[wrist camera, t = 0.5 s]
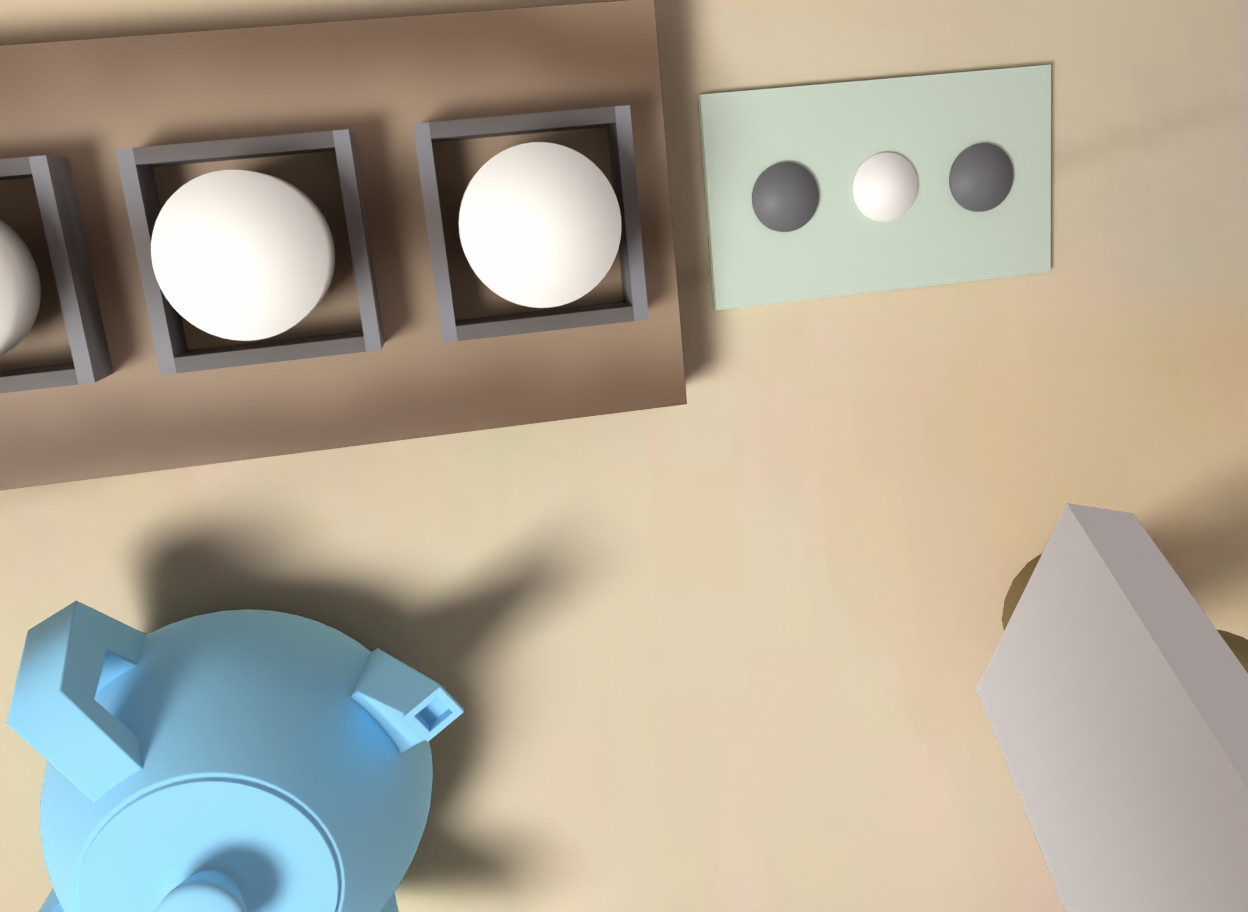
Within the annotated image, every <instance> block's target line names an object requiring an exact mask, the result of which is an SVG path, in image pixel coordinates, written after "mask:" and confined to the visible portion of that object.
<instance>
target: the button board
mask: <svg viewBox="0 0 1248 912" xmlns="http://www.w3.org/2000/svg"><path fill="white" fill-rule="evenodd" d="M531 142H547V143H554V144H558V145H562V146H565V147H568V148H570V149H573V150H575V151H577V152H579V153H580V154H582V155H584V156H585V157H586V158H588V159H589V160H590V161H592V162H593V163H594V164H595V165H596V166H597V167H598V168H599V169H600V170H601V171H602V173H603V174H604V175H605V177H606V178H607V179H608V181H609V183H610V185H611V186H612V188H613V190H614V193H615V195H616V197H617V201H618V204H619V208H620V214H621V239H620V244H619V248H618V252H617V254H616V257H615V260H614V262H613V264H612V266H611V268H610V270H609V271H608V272H607V274H606V275H605V277H604V278H603V279H602V280H601V281H600V283H599V284H598V285H597V286H596V287H594V288H593V289H592V290H591V291H590V292H589V293H587V294H585V295H584V296H582V297H581V298H579V299H577V300H575V301H573V302H570V303H567V304H564V305H561V306H556V307H550V308H535V307H527V306H523V305H519V304H516V303H513V302H510V301H508V300H506V299H504V298H502V297H501V296H499V295H498V294H496V293H495V292H493V291H492V290H491V289H489V288H488V287H487V286H486V285H485V284H484V283H483V282H482V281H481V280H480V278H479V277H478V276H477V275H476V273H475V272H474V270H473V269H472V267H471V266H470V264H469V262H468V260H467V258H466V255H465V253H464V251H463V248H462V245H461V241H460V236H459V227H458V219H459V209H460V204H461V201H462V198H463V195H464V192H465V190H466V188H467V186H468V184H469V182H470V181H471V179H472V178H473V176H474V175H475V174H476V173H477V172H478V171H479V169H480V168H481V167H482V166H483V165H484V164H485V163H486V162H488V161H489V160H490V159H491V158H492V157H494V156H495V155H497V154H499V153H500V152H502V151H504V150H506V149H508V148H510V147H513V146H517V145H520V144H525V143H531ZM221 170H246V171H252V172H257V173H262V174H267V175H271V176H274V177H277V178H280V179H282V180H285V181H286V182H288V183H290V184H292V185H294V186H295V187H297V188H298V189H300V190H301V191H302V192H304V193H305V194H306V195H307V196H308V197H309V198H310V199H311V200H312V201H313V202H314V203H315V204H316V205H317V207H318V208H319V210H320V211H321V212H322V214H323V215H324V217H325V219H326V221H327V223H328V225H329V228H330V231H331V233H332V237H333V241H334V246H335V268H334V274H333V278H332V281H331V284H330V286H329V288H328V290H327V293H326V295H325V296H324V298H323V299H322V300H321V302H320V303H319V304H318V306H317V307H316V308H315V309H314V310H313V311H312V312H311V313H309V314H308V315H307V316H306V317H305V318H303V319H302V320H301V321H300V322H298V323H297V324H296V325H294V326H293V327H291V328H290V329H288V330H286V331H284V332H282V333H280V334H278V335H275V336H272V337H269V338H265V339H260V340H251V341H240V340H230V339H226V338H221V337H218V336H215V335H212V334H209V333H207V332H205V331H203V330H201V329H199V328H197V327H196V326H194V325H193V324H191V323H190V322H188V321H187V320H186V319H185V318H184V317H182V316H181V315H180V314H179V313H178V312H177V311H176V310H175V309H174V308H173V307H172V305H171V304H170V303H169V301H168V300H167V299H166V297H165V295H164V294H163V292H162V290H161V288H160V286H159V284H158V282H157V279H156V277H155V273H154V269H153V266H152V258H151V240H152V233H153V229H154V226H155V222H156V220H157V218H158V215H159V213H160V211H161V209H162V208H163V206H164V205H165V203H166V202H167V200H168V199H169V198H170V197H171V196H172V195H173V194H174V193H175V192H176V191H177V190H178V189H179V188H180V187H182V186H183V185H184V184H186V183H188V182H189V181H191V180H192V179H195V178H197V177H199V176H201V175H204V174H207V173H211V172H214V171H221ZM0 219H1V220H3V221H4V222H5V223H6V224H8V225H9V226H10V227H11V228H12V229H13V230H14V231H15V232H16V233H17V234H18V235H19V236H20V237H21V239H22V240H23V241H24V243H25V244H26V245H27V247H28V249H29V250H30V252H31V254H32V256H33V258H34V261H35V263H36V265H37V269H38V272H39V276H40V283H41V300H40V307H39V311H38V314H37V317H36V319H35V322H34V324H33V326H32V327H31V329H30V331H29V332H28V334H27V335H26V336H25V337H24V338H23V340H22V341H21V342H20V343H19V344H17V345H16V346H15V347H14V348H13V349H11V350H10V351H8V352H6V353H5V354H3V355H1V356H0V490H8V489H16V488H24V487H32V486H40V485H47V484H55V483H63V482H71V481H79V480H87V479H95V478H103V477H111V476H119V475H127V474H135V473H143V472H151V471H159V470H167V469H175V468H183V467H190V466H198V465H206V464H214V463H222V462H230V461H238V460H246V459H254V458H262V457H270V456H278V455H286V454H294V453H302V452H310V451H318V450H326V449H334V448H341V447H349V446H357V445H365V444H373V443H381V442H389V441H397V440H405V439H413V438H421V437H429V436H437V435H445V434H453V433H461V432H469V431H477V430H484V429H492V428H500V427H508V426H516V425H524V424H532V423H540V422H548V421H556V420H564V419H572V418H580V417H588V416H596V415H604V414H612V413H620V412H628V411H635V410H643V409H651V408H659V407H667V406H675V405H683V404H687V399H686V387H685V375H684V362H683V350H682V338H681V326H680V313H679V301H678V289H677V276H676V264H675V252H674V240H673V227H672V215H671V203H670V190H669V178H668V166H667V154H666V141H665V129H664V117H663V104H662V92H661V80H660V67H659V55H658V43H657V31H656V18H655V6H654V0H626V1H612V2H598V3H584V4H570V5H556V6H542V7H529V8H515V9H501V10H487V11H473V12H459V13H445V14H432V15H418V16H404V17H390V18H376V19H362V20H348V21H335V22H321V23H307V24H293V25H279V26H265V27H251V28H238V29H224V30H210V31H196V32H182V33H168V34H154V35H141V36H127V37H113V38H99V39H85V40H71V41H57V42H44V43H30V44H16V45H2V46H0Z"/></svg>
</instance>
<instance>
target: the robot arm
mask: <svg viewBox="0 0 1248 912" xmlns="http://www.w3.org/2000/svg"><path fill="white" fill-rule="evenodd" d="M976 690H977V692H978V695H979V697H980V700H981V702H982V705H983V707H984V710H985V712H986V715H987V717H988V720H989V722H990V725H991V727H992V730H993V732H994V735H995V737H996V740H997V742H998V745H999V747H1000V750H1001V752H1002V755H1003V757H1004V760H1005V762H1006V765H1007V767H1008V770H1009V772H1010V775H1011V777H1012V780H1013V782H1014V785H1015V787H1016V790H1017V792H1018V795H1019V797H1020V800H1021V802H1022V804H1023V807H1024V809H1025V812H1026V814H1027V817H1028V819H1029V822H1030V824H1031V827H1032V829H1033V832H1034V834H1035V837H1036V839H1037V842H1038V844H1039V847H1040V849H1041V852H1042V854H1043V857H1044V859H1045V862H1046V864H1047V867H1048V869H1049V872H1050V874H1051V877H1052V879H1053V882H1054V884H1055V887H1056V889H1057V892H1058V894H1059V897H1060V899H1061V902H1062V904H1063V907H1064V909H1065V912H1248V673H1247V672H1246V670H1245V669H1244V667H1243V666H1242V665H1241V663H1240V662H1239V660H1238V659H1237V658H1236V656H1235V655H1234V653H1233V652H1232V651H1231V649H1230V648H1229V646H1228V645H1227V644H1226V642H1225V641H1224V639H1223V638H1222V637H1221V635H1220V634H1219V632H1218V631H1217V630H1216V628H1215V627H1214V625H1213V624H1212V623H1211V621H1210V620H1209V618H1208V617H1207V616H1206V614H1205V613H1204V611H1203V610H1202V609H1201V607H1200V606H1199V604H1198V603H1197V602H1196V600H1195V599H1194V597H1193V596H1192V595H1191V593H1190V592H1189V590H1188V589H1187V588H1186V586H1185V585H1184V583H1183V582H1182V581H1181V579H1180V578H1179V576H1178V575H1177V574H1176V572H1175V571H1174V569H1173V568H1172V567H1171V565H1170V564H1169V562H1168V561H1167V560H1166V558H1165V557H1164V555H1163V554H1162V553H1161V551H1160V550H1159V548H1158V547H1157V546H1156V544H1155V543H1154V541H1153V540H1152V539H1151V537H1150V536H1149V534H1148V533H1147V532H1146V530H1145V529H1144V528H1143V526H1142V525H1141V523H1140V522H1139V521H1138V519H1137V518H1136V516H1135V515H1134V514H1132V513H1126V512H1120V511H1113V510H1107V509H1100V508H1094V507H1087V506H1081V505H1074V504H1068V503H1067V504H1066V506H1065V508H1064V510H1063V512H1062V514H1061V516H1060V518H1059V520H1058V523H1057V525H1056V527H1055V529H1054V531H1053V533H1052V535H1051V537H1050V539H1049V541H1048V543H1047V545H1046V547H1045V549H1044V551H1043V553H1042V555H1041V557H1040V559H1039V561H1038V563H1037V565H1036V567H1035V569H1034V571H1033V574H1032V576H1031V578H1030V580H1029V582H1028V584H1027V586H1026V588H1025V590H1024V592H1023V594H1022V596H1021V598H1020V600H1019V602H1018V604H1017V606H1016V608H1015V610H1014V612H1013V614H1012V616H1011V618H1010V620H1009V622H1008V624H1007V627H1006V629H1005V631H1004V633H1003V635H1002V637H1001V639H1000V641H999V643H998V645H997V647H996V649H995V651H994V653H993V655H992V657H991V659H990V661H989V663H988V665H987V667H986V669H985V671H984V673H983V675H982V677H981V680H980V682H979V684H978V686H977V688H976Z"/></svg>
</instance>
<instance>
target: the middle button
mask: <svg viewBox="0 0 1248 912" xmlns="http://www.w3.org/2000/svg"><path fill="white" fill-rule="evenodd" d="M151 258H152V266H153V269H154V273H155V277H156V279H157V282H158V284H159V286H160V288H161V290H162V292H163V294H164V295H165V297H166V299H167V300H168V301H169V303H170V304H171V305H172V307H173V308H174V309H175V310H176V311H177V312H178V313H179V314H180V315H181V316H182V317H184V318H185V319H186V320H187V321H188V322H190V323H191V324H193V325H194V326H196V327H197V328H199V329H201V330H203V331H205V332H207V333H209V334H212V335H215V336H218V337H221V338H226V339H230V340H240V341H251V340H260V339H265V338H269V337H272V336H275V335H278V334H280V333H282V332H284V331H286V330H288V329H290V328H291V327H293V326H294V325H296V324H297V323H298V322H300V321H301V320H302V319H303V318H305V317H306V316H307V315H308V314H309V313H311V312H312V311H313V310H314V309H315V308H316V307H317V306H318V304H319V303H320V302H321V300H322V299H323V298H324V296H325V295H326V293H327V290H328V288H329V286H330V284H331V281H332V278H333V274H334V268H335V246H334V241H333V237H332V233H331V231H330V228H329V225H328V223H327V221H326V219H325V217H324V215H323V214H322V212H321V211H320V210H319V208H318V207H317V205H316V204H315V203H314V202H313V201H312V200H311V199H310V198H309V197H308V196H307V195H306V194H305V193H304V192H302V191H301V190H300V189H298V188H297V187H295V186H294V185H292V184H290V183H288V182H286V181H285V180H282V179H280V178H277V177H274V176H271V175H267V174H262V173H257V172H252V171H246V170H221V171H214V172H211V173H207V174H204V175H201V176H199V177H197V178H195V179H192V180H191V181H189V182H188V183H186V184H184V185H183V186H182V187H180V188H179V189H178V190H177V191H176V192H175V193H174V194H173V195H172V196H171V197H170V198H169V199H168V200H167V202H166V203H165V205H164V206H163V208H162V209H161V211H160V213H159V215H158V218H157V220H156V222H155V226H154V229H153V233H152V240H151Z"/></svg>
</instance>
